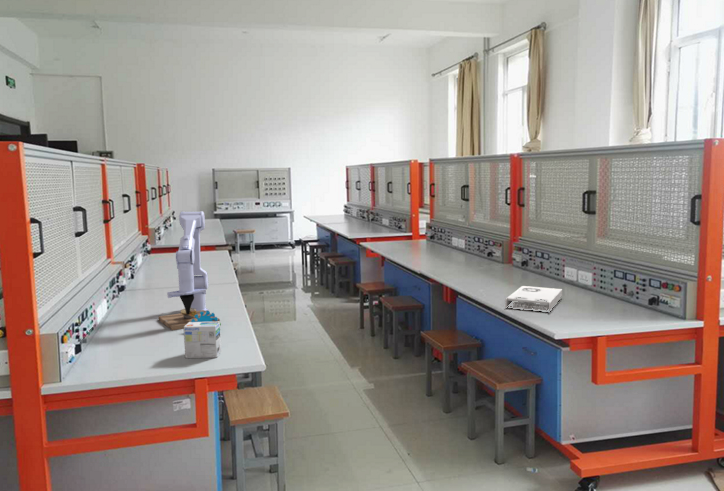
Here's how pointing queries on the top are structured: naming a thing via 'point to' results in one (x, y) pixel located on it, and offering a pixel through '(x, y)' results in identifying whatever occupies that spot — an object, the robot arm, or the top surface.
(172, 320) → the board
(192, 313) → the lever handle
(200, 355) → the light bulb box
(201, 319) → the gear
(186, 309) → the robot arm
